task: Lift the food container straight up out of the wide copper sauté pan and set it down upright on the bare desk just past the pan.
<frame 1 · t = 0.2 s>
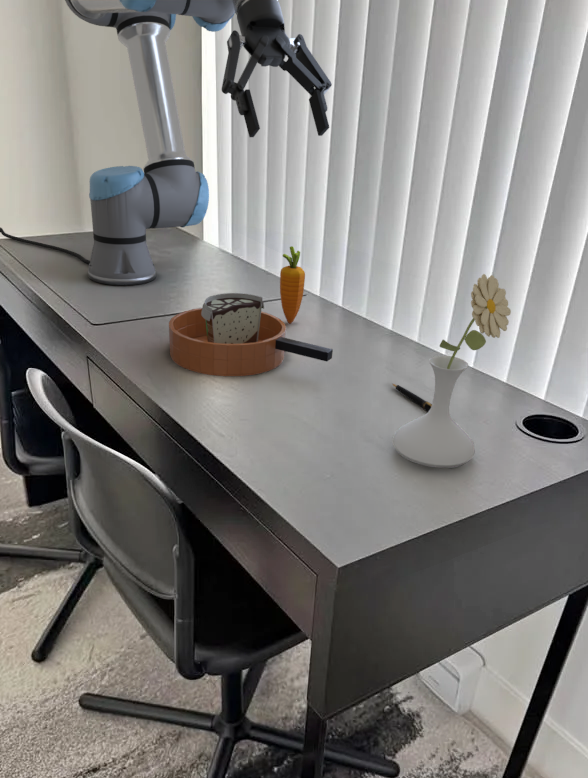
hand: (290, 132, 119), 35 cm above the table, tool tilted 35°, fingers open, 13 cm apart
fountain pen: (417, 404, 113), on the table
pan handle: (303, 348, 118), point 4 cm above the table
food container: (225, 354, 126), resting on pan
flower in vase: (436, 455, 98), on the table
carrot: (289, 324, 143), on the table
pan: (227, 354, 126), on the table
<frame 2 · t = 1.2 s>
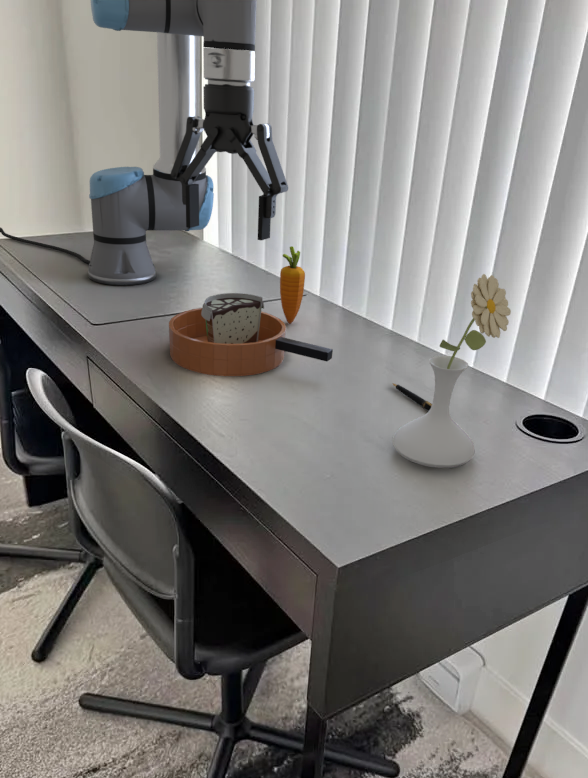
hand: (227, 232, 115), 21 cm above the table, tool pointing down, fingers open, 13 cm apart
nothing on the table moved.
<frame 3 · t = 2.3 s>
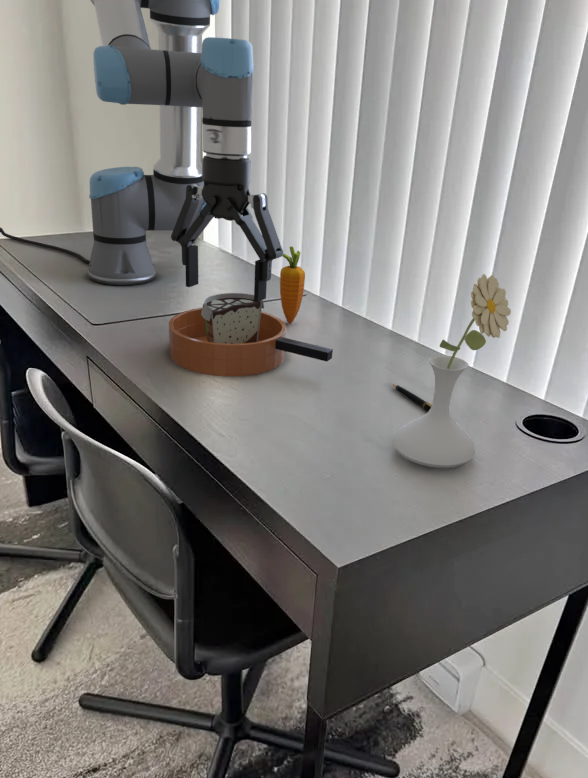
hand: (225, 292, 119), 11 cm above the table, tool pointing down, fingers open, 13 cm apart
nothing on the table moved.
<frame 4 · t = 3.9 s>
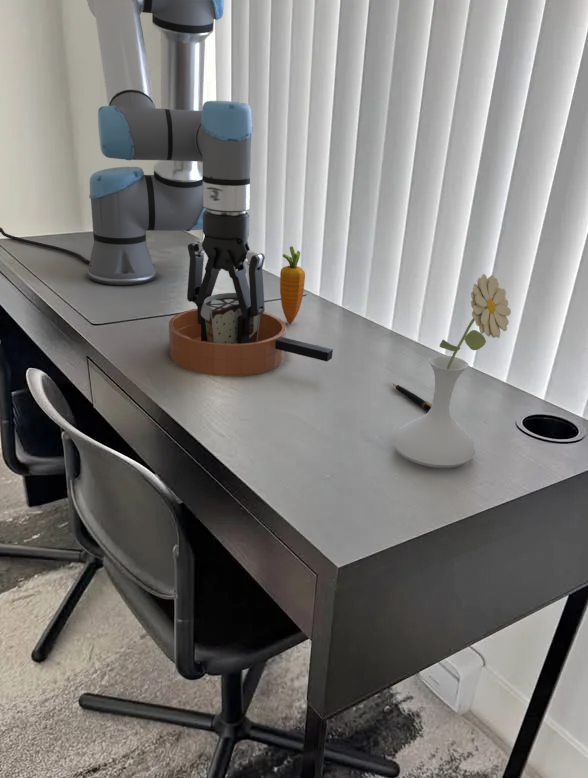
hand: (224, 346, 124), 2 cm above the table, tool pointing down, fingers closed on food container, 7 cm apart
food container: (225, 354, 126), resting on pan, touching gripper
everything else where it was.
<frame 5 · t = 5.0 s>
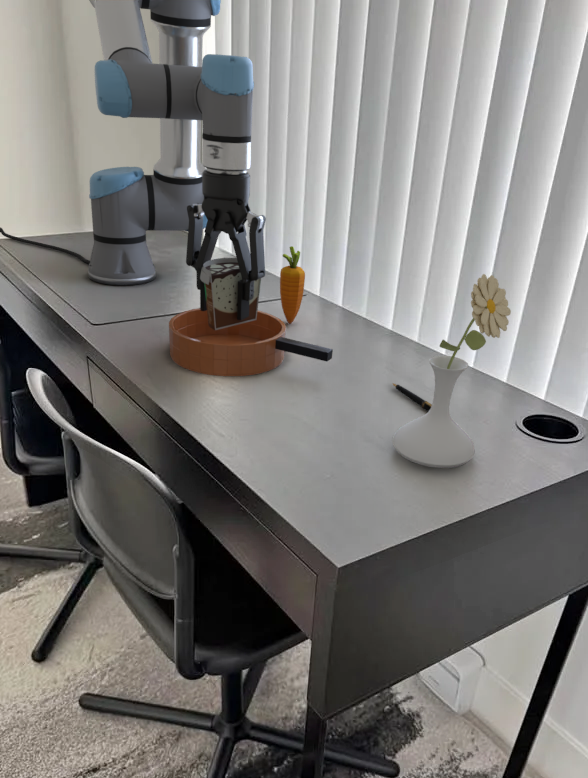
hand: (224, 313, 122), 8 cm above the table, tool pointing down, fingers closed on food container, 7 cm apart
food container: (224, 321, 123), point 6 cm above the table, touching gripper
everything else where it was.
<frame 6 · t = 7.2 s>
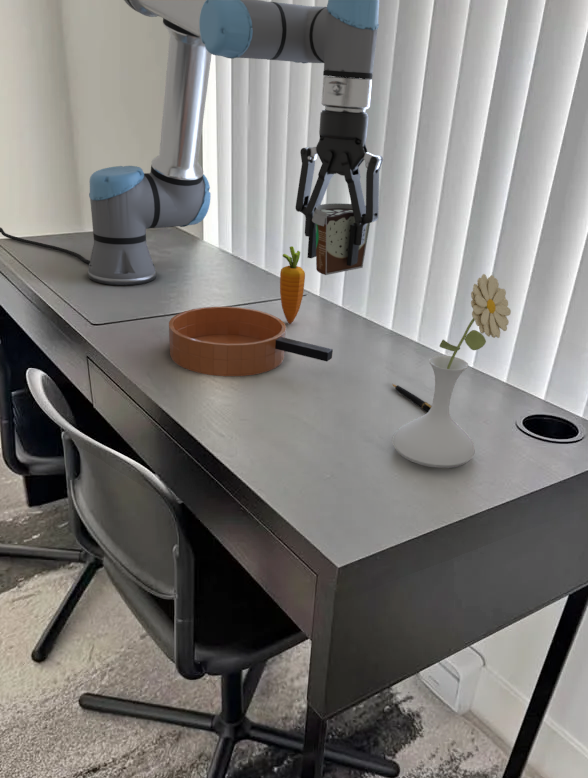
hand: (332, 260, 121), 17 cm above the table, tool pointing down, fingers closed on food container, 7 cm apart
food container: (331, 268, 122), point 15 cm above the table, touching gripper
everything else where it was.
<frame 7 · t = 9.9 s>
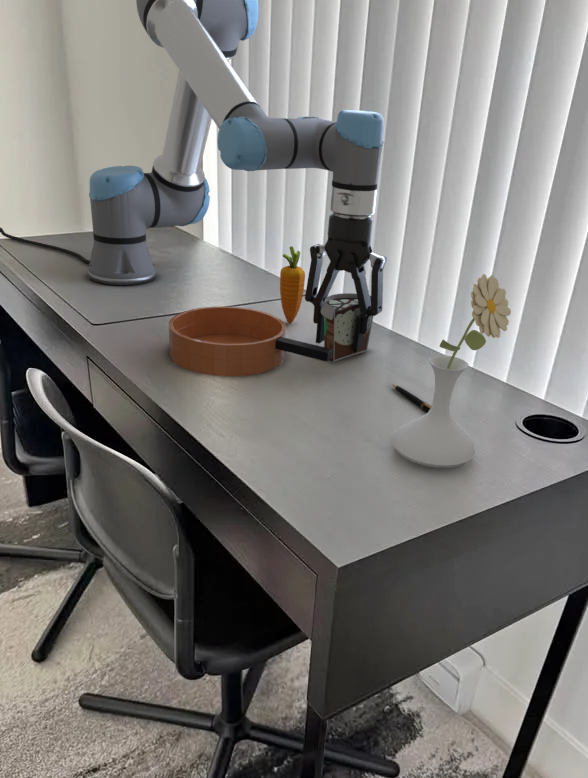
hand: (338, 345, 130), 1 cm above the table, tool pointing down, fingers closed on food container, 7 cm apart
food container: (338, 352, 131), on the table, touching gripper
everything else where it was.
when the fingers open (1 cm above the table, at t = 10.2 s): food container stays where it is, on the table.
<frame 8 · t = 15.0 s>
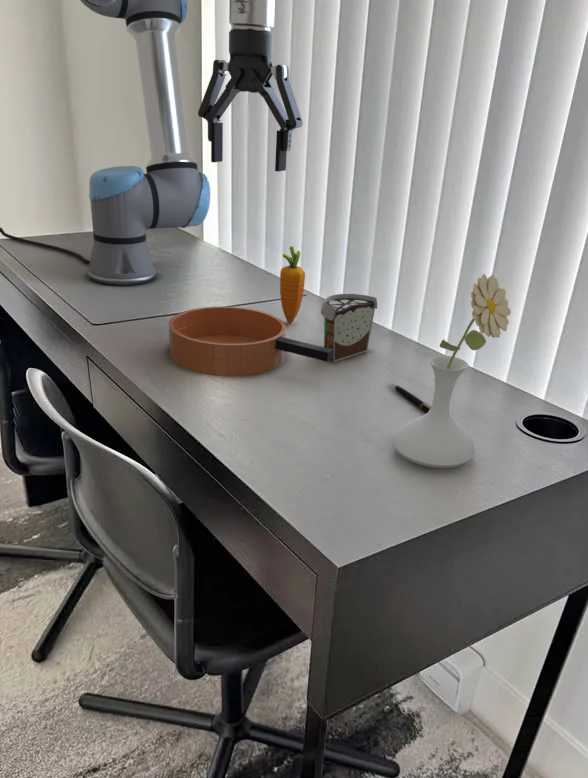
hand: (248, 166, 129), 29 cm above the table, tool pointing down, fingers open, 13 cm apart
food container: (338, 352, 131), on the table
everything else where it was.
at the end: food container inside the target area (0.4 cm from its centre), on the table; food container tilted 0°; food container touching table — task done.
